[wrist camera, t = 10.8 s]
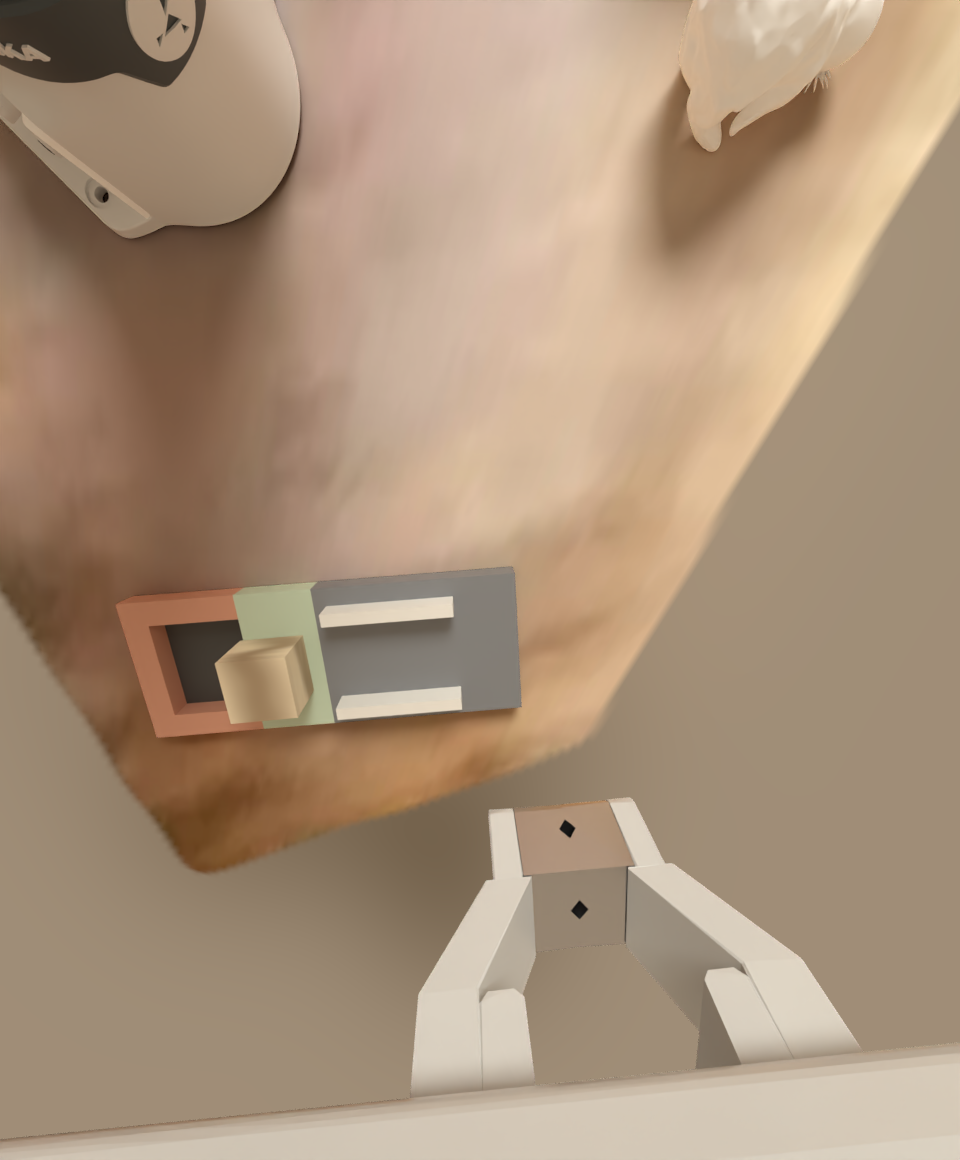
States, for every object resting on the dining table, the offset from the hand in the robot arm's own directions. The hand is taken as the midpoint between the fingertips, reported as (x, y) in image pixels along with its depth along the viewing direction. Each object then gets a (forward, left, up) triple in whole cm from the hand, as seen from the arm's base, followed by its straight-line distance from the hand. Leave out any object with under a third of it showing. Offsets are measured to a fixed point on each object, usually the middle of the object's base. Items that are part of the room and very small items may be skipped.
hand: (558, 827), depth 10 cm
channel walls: (-1, -11, -27) cm, 29 cm away
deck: (-5, -15, -29) cm, 33 cm away
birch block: (-8, -18, -27) cm, 33 cm away
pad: (-8, -17, -29) cm, 35 cm away
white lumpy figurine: (-4, +34, -29) cm, 45 cm away
